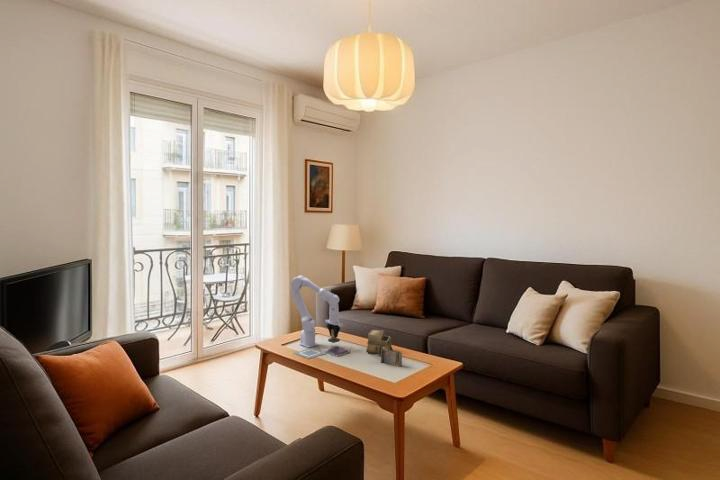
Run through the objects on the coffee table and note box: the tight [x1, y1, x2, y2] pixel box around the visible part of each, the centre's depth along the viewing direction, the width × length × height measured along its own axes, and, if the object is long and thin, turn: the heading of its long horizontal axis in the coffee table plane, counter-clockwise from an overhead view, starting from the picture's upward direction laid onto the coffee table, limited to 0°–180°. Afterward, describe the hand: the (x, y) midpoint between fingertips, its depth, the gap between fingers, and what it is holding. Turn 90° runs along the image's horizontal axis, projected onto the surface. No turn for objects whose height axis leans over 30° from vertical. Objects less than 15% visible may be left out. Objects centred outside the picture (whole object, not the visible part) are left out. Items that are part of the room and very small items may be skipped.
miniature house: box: [365, 329, 393, 357], centre depth 251 cm, size 15×14×11 cm
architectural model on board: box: [380, 347, 403, 367], centre depth 231 cm, size 11×3×10 cm, turn 60°
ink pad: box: [324, 346, 352, 357], centre depth 250 cm, size 11×11×1 cm
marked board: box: [293, 347, 327, 360], centre depth 248 cm, size 14×13×1 cm
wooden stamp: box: [327, 329, 341, 344], centre depth 261 cm, size 5×5×8 cm
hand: (333, 336), depth 261 cm, fingers closed on wooden stamp, 3 cm apart
